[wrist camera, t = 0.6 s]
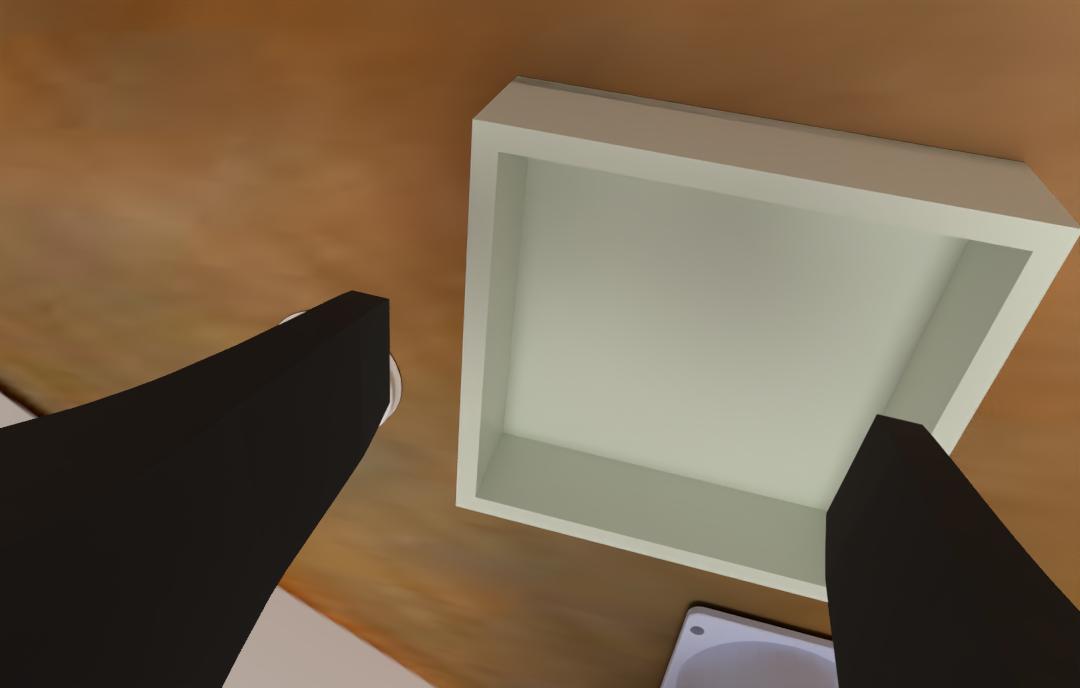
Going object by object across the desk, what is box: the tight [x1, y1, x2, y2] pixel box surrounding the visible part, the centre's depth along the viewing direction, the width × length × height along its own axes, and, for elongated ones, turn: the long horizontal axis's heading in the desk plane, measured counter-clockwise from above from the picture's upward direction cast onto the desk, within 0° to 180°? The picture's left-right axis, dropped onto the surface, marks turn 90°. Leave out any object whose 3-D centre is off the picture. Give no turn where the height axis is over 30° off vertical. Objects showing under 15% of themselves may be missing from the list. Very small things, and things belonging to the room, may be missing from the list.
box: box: [456, 76, 1080, 602], centre depth 19 cm, size 12×12×4 cm
